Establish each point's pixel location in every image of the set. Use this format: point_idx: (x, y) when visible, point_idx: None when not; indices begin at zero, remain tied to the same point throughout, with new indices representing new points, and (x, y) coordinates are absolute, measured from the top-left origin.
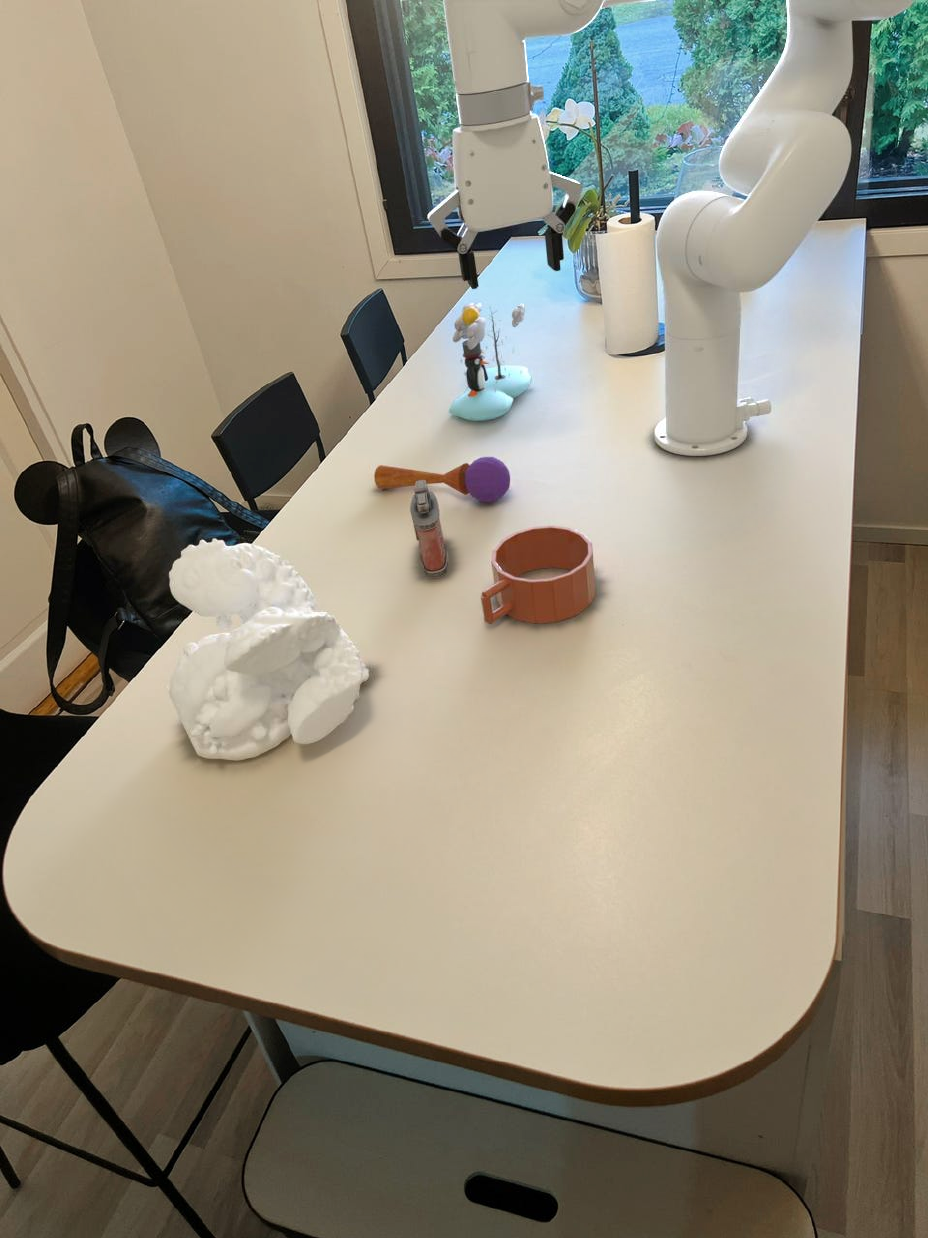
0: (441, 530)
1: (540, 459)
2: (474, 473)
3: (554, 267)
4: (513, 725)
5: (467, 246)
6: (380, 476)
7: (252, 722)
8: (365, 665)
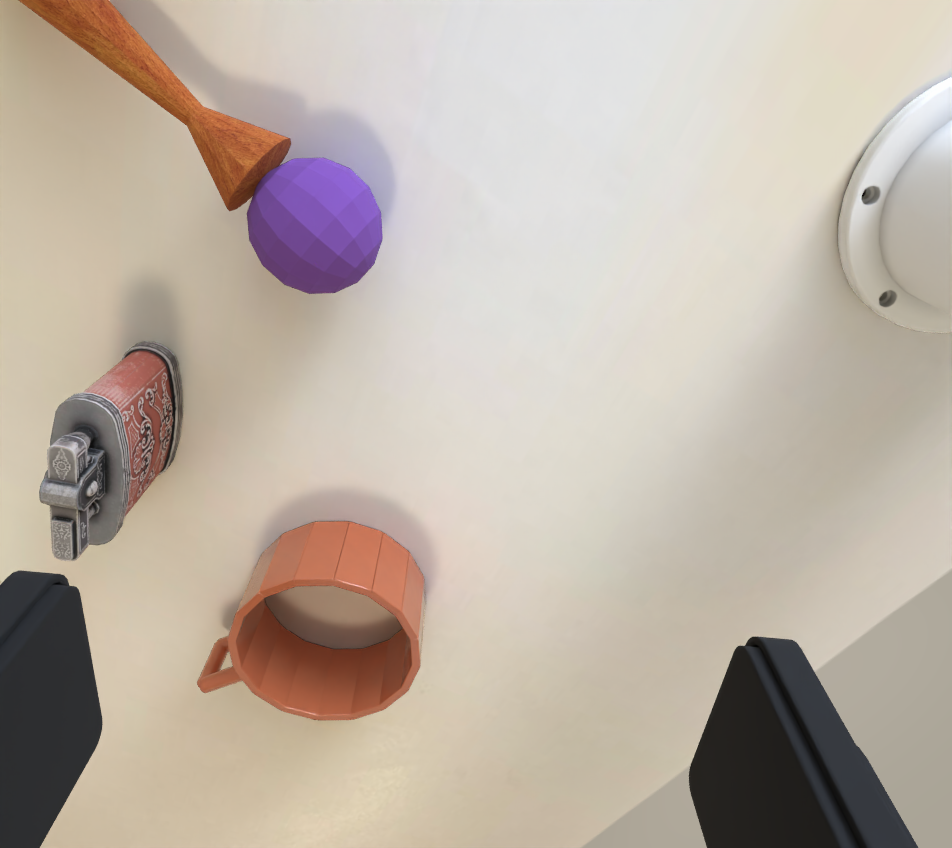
0: (149, 448)
1: (533, 59)
2: (266, 262)
3: (696, 797)
4: (222, 777)
5: None
6: None
7: None
8: None
